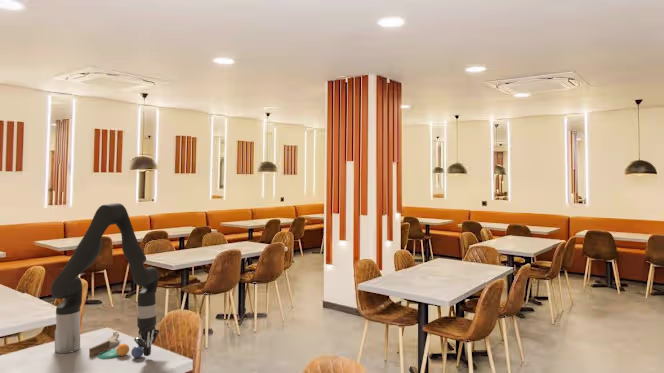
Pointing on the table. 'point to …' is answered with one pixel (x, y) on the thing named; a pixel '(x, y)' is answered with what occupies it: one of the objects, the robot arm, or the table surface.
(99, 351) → the rail
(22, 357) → the table surface
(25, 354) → the table surface
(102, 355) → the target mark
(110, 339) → the coral
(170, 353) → the table surface
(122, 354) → the orange ball
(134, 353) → the blue ball
